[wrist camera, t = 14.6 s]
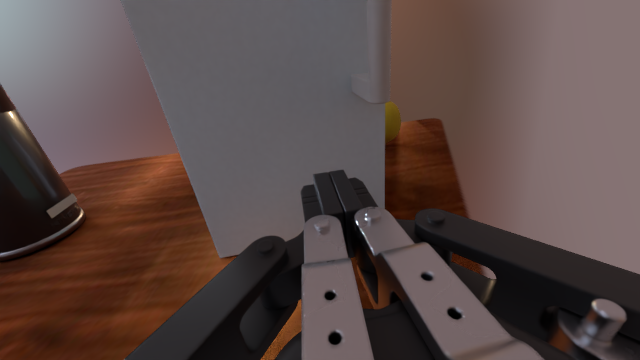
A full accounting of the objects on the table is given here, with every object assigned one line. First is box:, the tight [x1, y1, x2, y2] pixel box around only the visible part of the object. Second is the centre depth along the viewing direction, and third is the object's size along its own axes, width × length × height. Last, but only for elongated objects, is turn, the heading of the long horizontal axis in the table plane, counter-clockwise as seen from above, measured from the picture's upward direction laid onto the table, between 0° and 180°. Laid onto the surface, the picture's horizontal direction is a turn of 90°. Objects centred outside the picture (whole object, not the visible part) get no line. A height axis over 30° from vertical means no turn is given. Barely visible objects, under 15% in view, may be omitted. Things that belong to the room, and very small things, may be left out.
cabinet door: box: [121, 0, 391, 258], centre depth 18 cm, size 6×16×22 cm, turn 97°
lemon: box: [385, 101, 401, 144], centre depth 44 cm, size 6×6×8 cm
